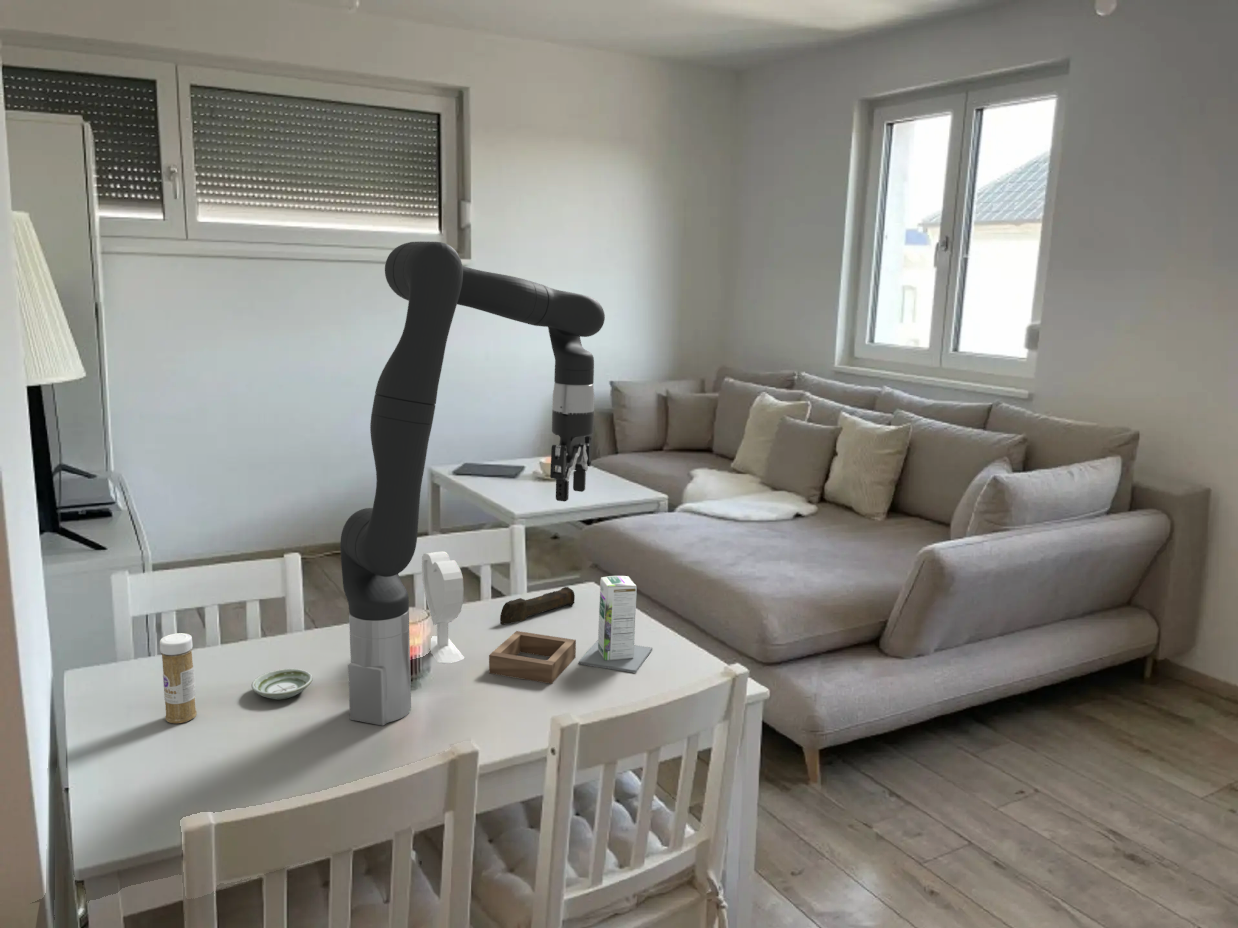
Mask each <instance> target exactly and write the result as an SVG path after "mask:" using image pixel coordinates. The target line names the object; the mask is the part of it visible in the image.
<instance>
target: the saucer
mask: <svg viewBox="0 0 1238 928" xmlns="http://www.w3.org/2000/svg"><path fill="white" fill-rule="evenodd" d="M313 679H314V677H313V675H312V673H310V672H309V671H307V670H305V669H300V668H282V669H277V670H271V671H268V672H266V673H263V674H261V675H259V676H257V677H256V678H255V679H254V680H253V681H252V682H251V689H252V691H253V692H254V693H257V694H258V695H259V696H261V697H264V698H267V699H271V700H286V699H290V698H293V697H295V696H297V695H299V694H300V693H302V692H303V691H305V690H306V689H307V688H308V687H309V686H310V684H312V682H313Z"/></svg>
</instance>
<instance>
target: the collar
mask: <svg viewBox="0 0 1238 928" xmlns="http://www.w3.org/2000/svg"><path fill="white" fill-rule="evenodd" d="M576 652H577V640H576V639H573V638H572V639H571V638H567V637H566V638H565V637H560V636H553V635H546V634H539V633H533V632H526V631H519V630H516V631H515V632H514V633H512V634H511V635H510V636H509V637H508V638H507V639H505V640H504V641H503V642H502V643H501V644H500V645H499V646H497V648H495V649H494V650H493V651H492V652H491V653H489V655H488V673H489V674H491V675H496V676H501V677H509V678H515V679H521V680H527V681H532V682H538V683H545V684H550V685H552V684H553V683H555V681H556V680H557V679H558V678H559V677H560V676H561V675H562V673H563V672H564V671H566V669H568V667H569V665H570V664H571V663H572V662H573V661H574V660H575V659H576ZM520 653H523V654H528V655H537V656H542V657H547V658H548V659H547V660H546V659H539V658H534V657H528V656H527V657H526V656H523V655H522V656H521V655H519V654H520Z"/></svg>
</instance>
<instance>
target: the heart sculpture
mask: <svg viewBox="0 0 1238 928" xmlns="http://www.w3.org/2000/svg"><path fill="white" fill-rule="evenodd" d="M459 566H460V565H458V562H457V561H456V560H455V559H450V556H449V553H447V552H446V551H434V552H427V553H426V552H425V553H423V554H422V556H421V574H422V575H421V576H422V584H423V590H424V596H425V600H426V604H427V607H428V610H429V614H430V617H431V621H432V624H433V626H435V625H436V635H432V638H431V652H430V653H431V655H432V656H433V657H434V659H435V660H436V662H437V664H438V663H439V664H451V663H452V664H453V663H457V662H459V661H463V660H464V659H465V656H464V655H463V654H462V652H461V651H460V650H459V648H457V647H456V645H455V644H454V643H453V640H451V639H450V637H449V623H452V622H453V621H454V620H456V618H458V617H459V615H460V613H461V611H462V607H463V604H464V603H463V602H464V590H465V589H464V578H463V577H464V576H463V574H462V573H463V572H462V570H461V568H460V567H459Z"/></svg>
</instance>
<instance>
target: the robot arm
mask: <svg viewBox="0 0 1238 928" xmlns="http://www.w3.org/2000/svg"><path fill="white" fill-rule="evenodd" d="M384 276H385V279H386V282H387V284H388V286H389V287H390V289H391V291H393V293H395V294H396V295H397V296H398V297H400V298H402V299H404V300H406V301H408V305H407V309H406V310H407V312H406V317H405V323H404V327H403V331H402V332H401V333H402V334H401V336H400V339H399V341H398V342H397V345H396V346H395V349H393V352H392V353H391V355H390V356H389V358H388V360H387V362H386V363H385V365H384V367H383V369H382V371H381V373H380V375H379V378H378V381H377V383H376V386H375V387H376V388H375V391H374V392H375V393H374V397H373V404H372V409H371V414H370V424H369V425H370V427H369V428H370V441H371V449H372V454H373V459H374V466H375V473H376V474H375V475H376V488H375V494H374V501H373V505H372V507H365V508H362V509H359V510H357V511H355V512H354V513H352V514H351V515H350V516H349V518H348V519H347V520H346V521H345V523H344V525H343V527H342V530H341V536H340V541H339V542H340V549H339V550H340V564H341V577H342V586H343V592H344V596H345V597H346V600H347V603H348V622H349V649H350V654H349V655H350V662H349V663H348V664H347V671H348V673H347V676H348V677H347V678H348V698H349V699H348V703H349V720H351V721H358V722H360V723H362V722H363V723H367V724H373V725H377V726H385V725H386V724H389V723H391V722H395V721H398V720H400V719H402V718H404V717H406V716H407V715H408V714H409V713H410V712H411V710H412V693H411V692H412V689H411V688H412V687H411V686H412V685H411V681H412V680H411V647H410V645H411V643H410V597H409V592H408V590H407V589H406V587H405V585H404V584H403V582H402V580H401V578H400V576H399V574H400V573H402V572H403V571H404V570H405V569H406V568H407V567H408V565H409V564H410V563H411V561H412V559H413V557H414V556H415V552H416V548H417V543H418V532H419V516H420V502H421V492H422V490H421V489H422V482H423V476H424V472H425V466H426V460H427V454H428V453H427V452H428V446H429V441H430V436H431V432H432V427H433V422H434V417H435V410H436V405H437V397H438V389H439V385H440V380H441V379H440V378H441V373H442V370H443V369H442V368H443V364H444V358H445V352H446V348H447V341H448V338H449V333H450V328H451V326H452V323H453V319H454V315H455V312H456V308H457V305H459V306H463V307H468V308H471V309H475V310H479V311H482V312H486V313H489V314H492V315H496V316H499V317H502V318H505V319H509V320H513V321H515V322H516V321H517V322H519V323H522V324H527V325H530V326H535V327H545V328H548V329H547V330H548V334H549V338H550V339H549V340H550V344H551V349H552V353H553V357H554V377H553V378H554V385H553V391H552V401H551V402H552V405H551V407H552V408H551V433H552V434H553V435H554V436H558V437H559V443H558V444H552V445H551V448H550V449H551V450H550V451H551V453H550V473H549V477H550V478H551V479H553V480H555V500H556V501H557V502H558V501H559V502H567V501H568V500H569V494H570V493H569V492H570V490H569V489H570V488H569V487H570V481H569V480H570V477H571V473H572V471H573V473H572V475H573V478H572V489H573V491H575V492H581V493H582V492H584V491H585V490H586V479H587V478H586V477H587V476H586V475H587V471H589V470H588V468H589V467H591V465H592V435H593V433H594V420H595V418H594V417H595V389H594V380H595V379H594V378H595V359H594V355H593V354H592V353H591V352H590V351H588V350H587V349H585V348H584V347H583V345H582V341H581V337H582V338H588V337H592V336H594V335H596V334H597V333H599V332H600V331H601V329H602V328H603V326H604V324H605V320H606V319H605V317H606V315H605V311H604V308H603V306H602V305H601V303H600V302H599V301H598V300H596V299H595V298H593V297H591V296H589V295H584V294H580V293H575V292H570V291H565V290H559V289H555V288H552V287H549V286H548V285H547V286H546V285H544V284H541V283H537V282H536V281H535V282H534V281H531V280H528V279H525V278H520V277H517V276H512V275H507V274H501V273H497V272H496V273H495V272H491V271H485V270H480V269H475V268H471V267H467V266H465V265H463V262H462V260H461V257H460V256H459V253H458V252H457V250H455V248H453V246H451V244H448V243H446V242H442V241H409V242H406V243H402V244H400V245H398V246H396V247H395V248H394V249H392V250H391V252H390V253H389V255H388V256H387V259H386V260H385V264H384Z"/></svg>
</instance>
